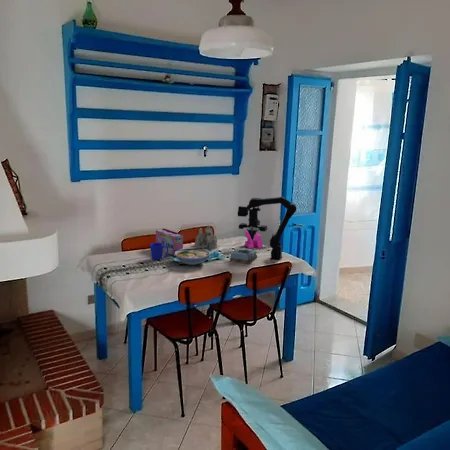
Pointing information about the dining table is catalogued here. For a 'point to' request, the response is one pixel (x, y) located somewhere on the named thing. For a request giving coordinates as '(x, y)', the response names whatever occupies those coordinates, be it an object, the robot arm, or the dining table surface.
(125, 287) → the dining table surface
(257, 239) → the magenta blocky figure
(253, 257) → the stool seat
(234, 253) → the folding leg
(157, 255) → the mug
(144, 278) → the dining table surface
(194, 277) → the dining table surface
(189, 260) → the ramen bowl
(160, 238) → the gum box
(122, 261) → the dining table surface
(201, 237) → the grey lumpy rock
